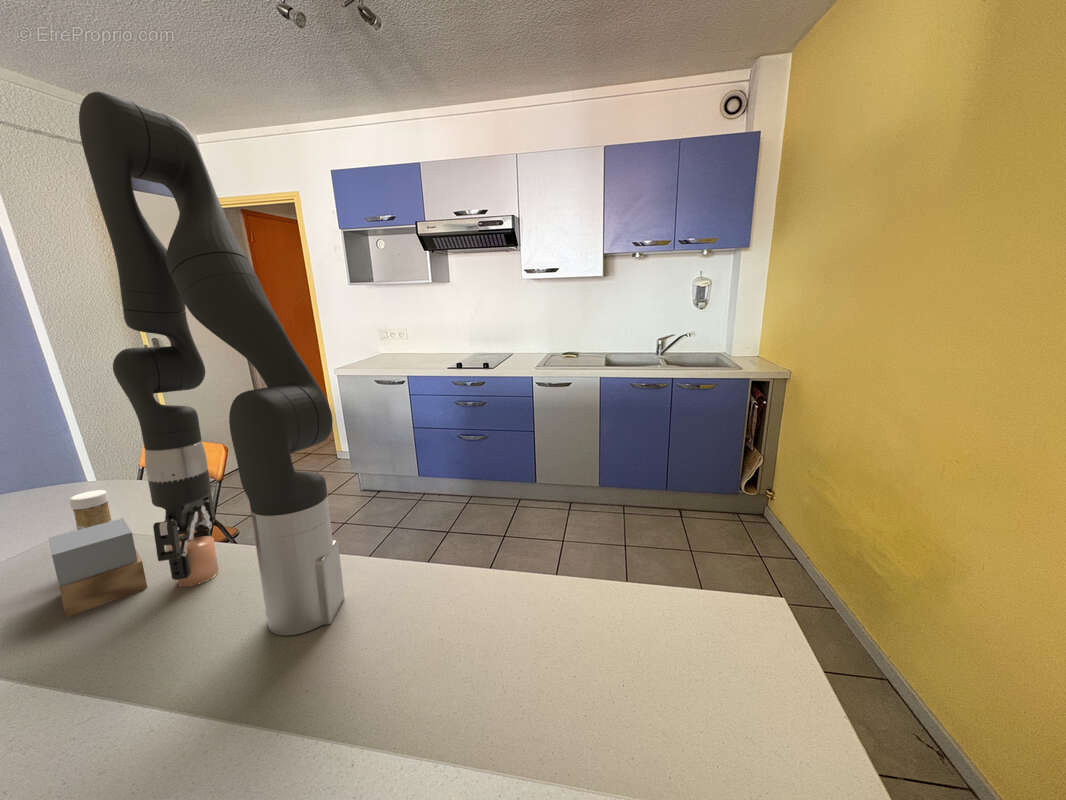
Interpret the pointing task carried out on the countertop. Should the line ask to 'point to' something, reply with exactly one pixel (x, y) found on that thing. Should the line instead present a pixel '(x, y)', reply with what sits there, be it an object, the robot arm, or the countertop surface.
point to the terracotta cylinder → (200, 560)
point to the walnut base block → (103, 587)
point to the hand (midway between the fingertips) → (194, 563)
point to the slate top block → (92, 551)
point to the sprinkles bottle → (90, 508)
